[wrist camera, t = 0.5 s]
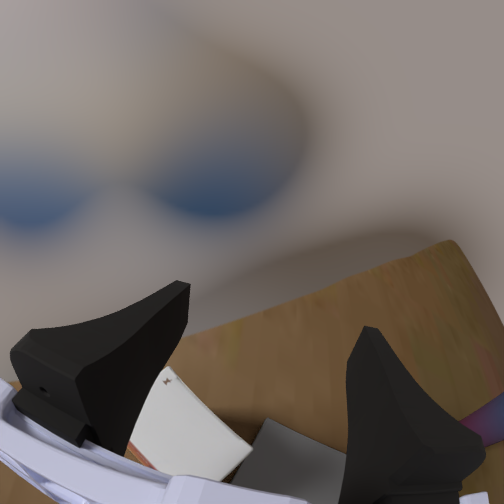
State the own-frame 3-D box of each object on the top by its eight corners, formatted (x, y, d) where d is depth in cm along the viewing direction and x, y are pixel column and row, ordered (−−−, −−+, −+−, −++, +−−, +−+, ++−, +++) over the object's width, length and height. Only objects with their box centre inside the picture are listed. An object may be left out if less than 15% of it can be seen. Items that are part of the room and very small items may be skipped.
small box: (117, 438, 23) (101, 409, 16) (162, 405, 27) (167, 362, 20) (180, 502, 21) (193, 507, 14) (223, 464, 24) (256, 448, 17)
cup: (461, 409, 34) (541, 356, 24) (479, 444, 30) (562, 398, 20) (437, 431, 31) (528, 379, 21) (456, 470, 27) (550, 427, 17)
